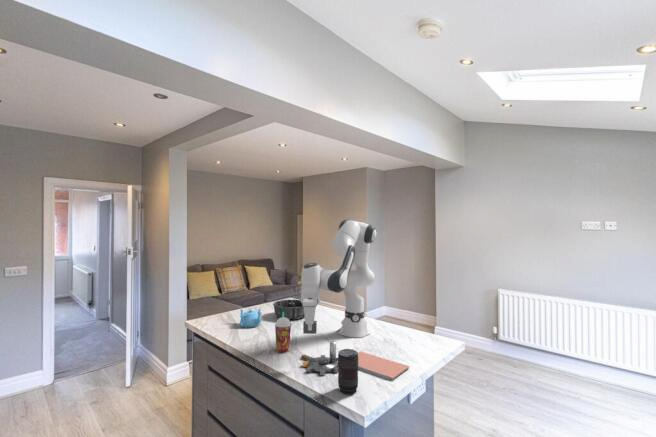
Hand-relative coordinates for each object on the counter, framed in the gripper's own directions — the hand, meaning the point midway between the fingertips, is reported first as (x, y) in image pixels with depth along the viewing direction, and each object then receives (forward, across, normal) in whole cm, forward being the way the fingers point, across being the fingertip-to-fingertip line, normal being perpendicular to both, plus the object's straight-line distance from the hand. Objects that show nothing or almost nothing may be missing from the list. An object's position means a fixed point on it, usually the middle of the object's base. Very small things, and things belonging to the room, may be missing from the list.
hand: (310, 328), depth 151 cm
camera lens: (+18, +22, +16) cm, 32 cm away
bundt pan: (+17, -84, -16) cm, 88 cm away
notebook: (+18, -1, +30) cm, 35 cm away
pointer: (+17, -9, -2) cm, 20 cm away
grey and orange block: (+2, 0, 0) cm, 2 cm away
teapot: (+17, -64, -40) cm, 77 cm away
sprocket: (+18, 0, +6) cm, 19 cm away
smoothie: (+17, -20, -15) cm, 30 cm away
